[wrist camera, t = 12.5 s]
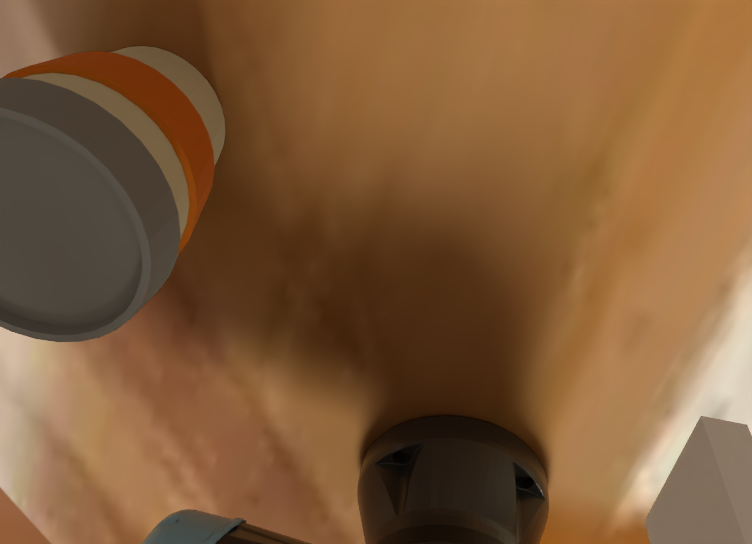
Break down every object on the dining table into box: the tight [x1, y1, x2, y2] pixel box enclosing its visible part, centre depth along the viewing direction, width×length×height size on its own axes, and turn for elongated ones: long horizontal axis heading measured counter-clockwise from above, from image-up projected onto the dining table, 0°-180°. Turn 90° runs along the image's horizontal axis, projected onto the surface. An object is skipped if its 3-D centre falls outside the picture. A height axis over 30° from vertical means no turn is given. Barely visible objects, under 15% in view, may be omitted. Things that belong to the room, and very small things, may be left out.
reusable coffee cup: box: [0, 46, 226, 342], centre depth 38 cm, size 13×13×15 cm
